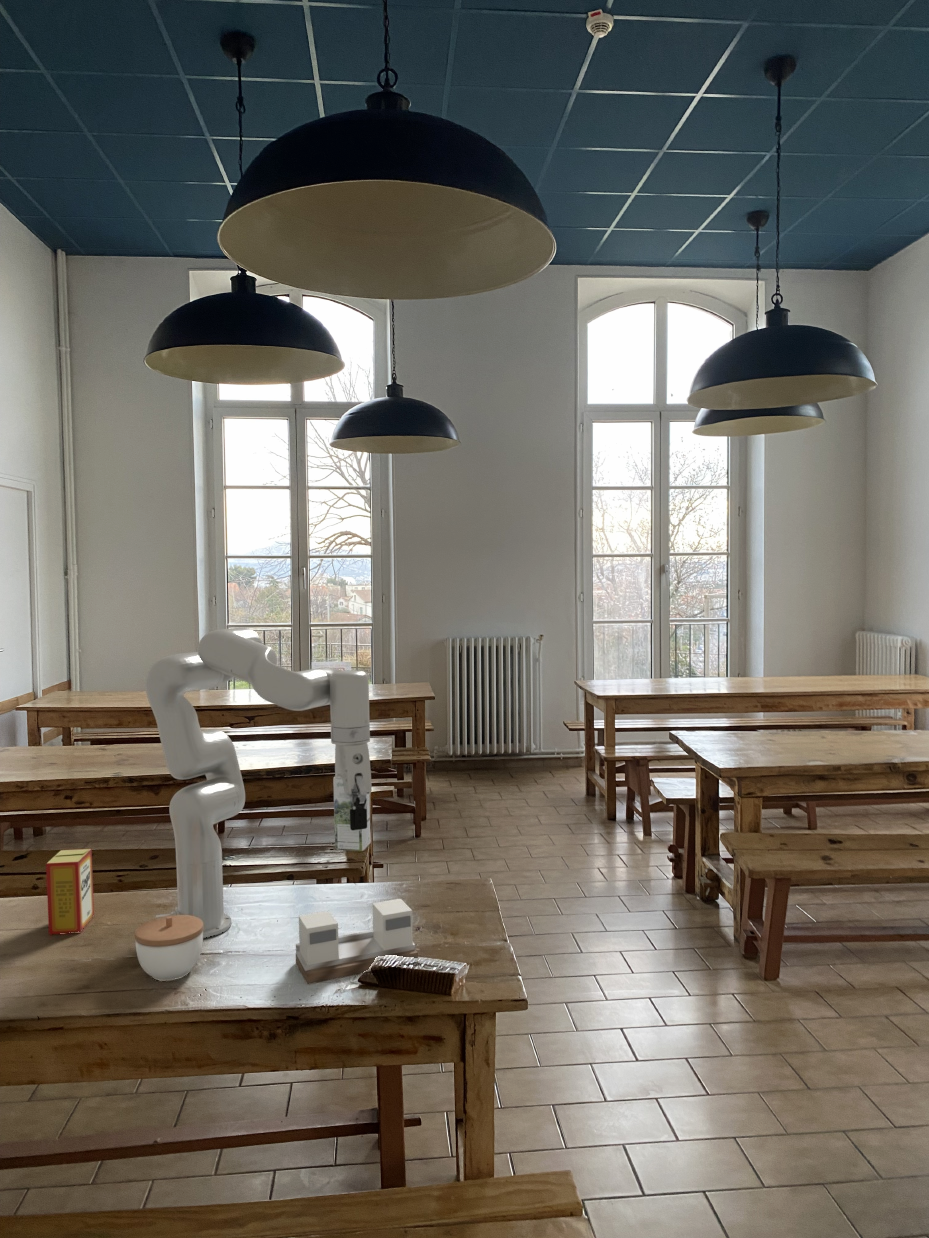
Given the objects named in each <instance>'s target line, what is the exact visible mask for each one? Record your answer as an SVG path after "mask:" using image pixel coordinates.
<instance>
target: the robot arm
mask: <svg viewBox="0 0 929 1238" xmlns="http://www.w3.org/2000/svg"><path fill="white" fill-rule="evenodd" d="M277 664H278V656H277V653H276V651H275V650H274V649H273V648H272V647H271V646H268V645H266V644H264V643H263V640H262V638H261V637H260V635H259V634H258V633H257V632H256V631H254V630H252V628H247V627H232V628H231V627H230V628H221V629H214V630H212V631H209V632H208V633H206V634H204V635H203V636H202V638H201V639H200V640H199V643H198V645H197V651H192V652H190V651H189V652H181V653H175V654H170V655H167V656H164V657H162V658H160V659H158V660H156V661H155V662H154V663H152V665H151V666H150V668H149V670H148V672H147V675H146V679H145V694H146V697H147V701H148V703H149V706H150V708H151V710H152V713H153V715H154V718H155V721H156V725H157V731H158V735H159V739H160V743H161V747H162V753H163V755H164V761H165V764H166V767H167V771H168V772H169V774H170V775H171V776H172V778H174V779H176V780H190V779H193V778H197V777H200V776H205V777H206V780H203V781H200V782H196V783H192V784H189V785H187V786H185V787H183V788H181V789H180V790H178V791H177V792H175V794H174V795H173V796H172V797H171V799H170V801H169V811H168V812H169V817H170V821H171V825H172V830H173V836H174V844H175V845H174V846H175V861H176V883H177V884H176V886H177V887H176V888H177V889H176V890H177V893H176V894H177V906H174V908H175V910H174V911H171V912H170V913H166V914H164V913H163V914H162V913H161V914H156V915H155V919H156V918H159V917H164V916H170V915H190V916H195V917H198V918H199V919H201V920H202V921H203V939H207V938H211V937H210V936H212V937H214V936H213V935H215V936H218V935H220V934H223V933H224V932H226V931H228V930H229V929H230V928H231V927H232V917H231V916H230V915H228V914H226V913H224V911H225V910H224V909H225V908H224V907H225V906H224V883H223V882H224V881H223V878H224V877H223V851H222V849H223V848H222V842H221V840H220V838H219V836H218V834H217V832H216V830H215V828H214V825H216V824H218V823H220V822H223V821H225V820H227V819H230V818H233V817H235V816H237V815H238V814H239V813H241V811H243V809H244V807H245V802H246V790H245V785H244V781H243V776H242V772H241V767H240V764H239V758H238V756H237V755H238V754H237V752H236V748H235V745H234V743H233V741H232V739H231V738H230V737H229V735H228V734H226V732H224V731H222V730H220V729H217V728H210V729H204V730H202V729H201V726H200V723H199V717H198V714H197V711H196V709H195V707H194V706H193V704H192V703H191V701H189V700H188V699H187V698H186V696H185V694H186V693H190V692H197V691H203V690H207V689H209V690H210V689H214V688H216V687H217V688H218V687H220V686H223V685H224V684H226V683H228V682H229V681H231V680H232V679H234V678H235V679H237V680H240V681H242V682H244V683H247V684H249V685H251V688H253V690H254V692H255V693H256V694H257V695H258V696H259V697H260V698H261V699H263V700H265V701H267V702H269V703H271V704H272V705H273V704H274V705H276V706H278V707H281V708H283V709H286V710H289V711H295V712H296V711H297V712H298V711H300V712H301V711H302V712H303V711H306V710H311V709H314V708H318V707H323V706H330V708H329V709H330V711H329V712H330V744H332V745H335V746H334V747H335V748H334V755H335V756H334V772H335V773H334V774H335V775H334V777H335V776H336V775H337V774H338V775H339V776H340V777H341V778H342V780H343V787H344V792H345V794H346V795H348V796H350V802H351V808H352V809H350V829H351V830H360V829H366V828H367V803H366V801H367V799H366V795H367V794H370V795H371V793H372V788H373V787H372V773H371V771H372V770H371V760H370V751H369V745H368V743H369V742H371V732H370V731H371V729H370V728H371V727H370V726H371V725H370V723H371V722H370V689H369V688H370V686H369V685H370V682H369V675H368V674H367V673H366V672H365V671H363V670H356V669H355V670H353V669H349V670H347V669H346V670H341V669H338V668H337V669H336V668H334V667H333V668H332V667H317V668H311V669H305V670H299V671H293V670H290V669H286V668H284V667H281V666H279V665H277ZM355 783H356V786H357V790H358V792H355V793H352V790H354V789H355ZM354 797H357V798H356V801H355V800H354ZM229 927H230V928H229ZM228 928H229V929H228ZM222 932H223V933H222ZM206 937H207V938H206Z"/></svg>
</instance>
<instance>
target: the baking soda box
mask: <svg viewBox="0 0 929 1238" xmlns="http://www.w3.org/2000/svg"><path fill="white" fill-rule="evenodd" d="M92 853H93V852H92V848H76V849H75V848H74V849H61V850H60V851H58V852H57V853H56V854H55V855H54V856H53V857H52V858H51V859H49V860H48V862H46V864H45V872H46V873H45V874H46V892H47V893H46V895H47V916H48V917H47V918H48V936H52V935H51V934H60V933H69V932H70V933H71V932H78V931H79V932H81V930H82V929H83V928H84V927H85V925H86V924H87V923H88V921H89V920H90V919H91V917H92V916H93V915H94V916H95V904H94V881H93V880H94V877H93V875H94V874H93V857H92V856H93V855H92ZM85 928H86V927H85ZM81 933H82V932H81Z"/></svg>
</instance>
